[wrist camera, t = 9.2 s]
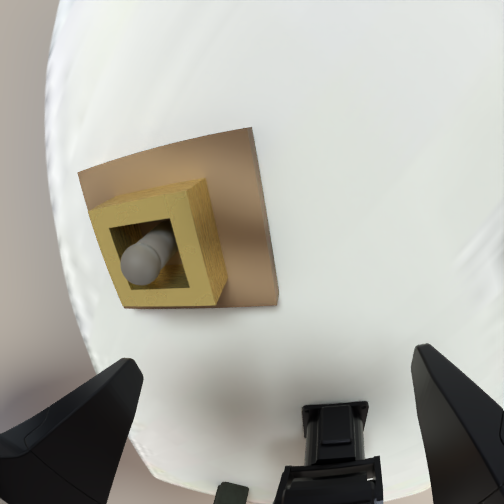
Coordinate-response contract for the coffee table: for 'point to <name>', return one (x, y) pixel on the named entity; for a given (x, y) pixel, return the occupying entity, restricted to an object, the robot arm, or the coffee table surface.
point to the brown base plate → (223, 204)
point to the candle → (231, 494)
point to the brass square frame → (187, 237)
